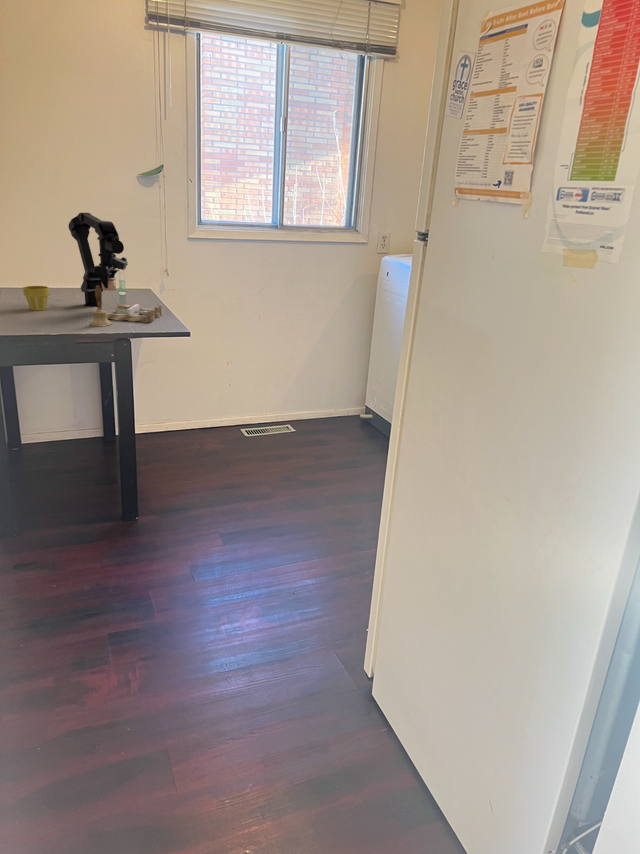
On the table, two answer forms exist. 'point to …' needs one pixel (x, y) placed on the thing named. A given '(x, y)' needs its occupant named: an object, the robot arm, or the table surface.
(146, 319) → the lane
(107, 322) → the hand bell
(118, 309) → the stock jar
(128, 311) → the peg stand
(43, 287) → the plant pot
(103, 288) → the jar
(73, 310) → the table surface
